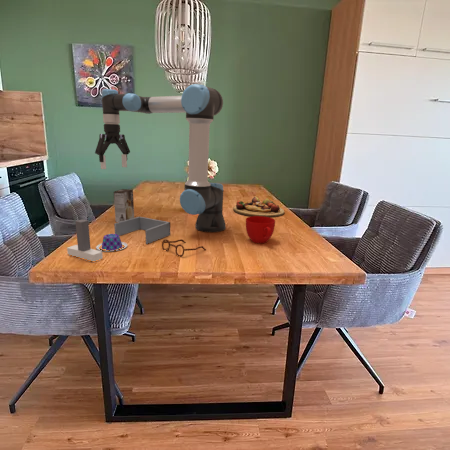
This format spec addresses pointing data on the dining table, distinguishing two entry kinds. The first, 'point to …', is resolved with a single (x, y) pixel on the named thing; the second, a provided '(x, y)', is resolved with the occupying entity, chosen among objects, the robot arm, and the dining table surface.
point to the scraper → (84, 243)
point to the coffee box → (123, 205)
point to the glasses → (177, 246)
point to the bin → (144, 228)
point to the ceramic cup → (260, 228)
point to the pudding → (111, 242)
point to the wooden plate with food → (258, 208)
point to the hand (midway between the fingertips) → (114, 168)
